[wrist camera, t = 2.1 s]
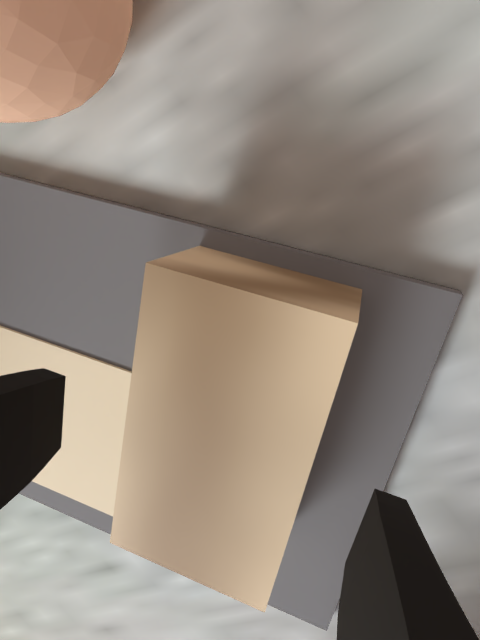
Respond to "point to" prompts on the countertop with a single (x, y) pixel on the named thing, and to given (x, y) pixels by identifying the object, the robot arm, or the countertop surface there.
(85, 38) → the egg
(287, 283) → the card box
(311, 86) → the countertop surface
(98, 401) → the mat
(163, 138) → the countertop surface
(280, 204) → the countertop surface
